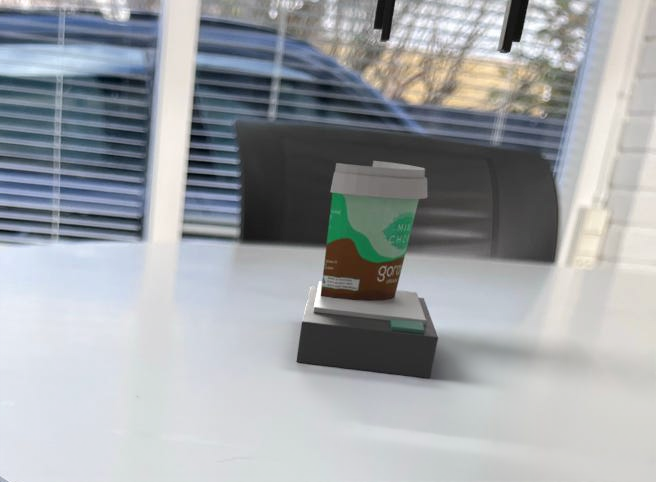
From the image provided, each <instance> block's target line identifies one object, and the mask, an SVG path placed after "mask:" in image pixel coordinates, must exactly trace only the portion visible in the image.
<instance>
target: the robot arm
mask: <svg viewBox="0 0 656 482" xmlns="http://www.w3.org/2000/svg"><path fill="white" fill-rule="evenodd" d="M396 1H397V0H377V1H376V7H375V13H374V21H373V28H372V30H378V31H380V37H379V38H380V39H379V43H387V42H389V41H390V39H391V33H392V26H393V20H394V13H395V7H396ZM529 3H530V0H506V5H505V10H504V15H503V20H502V26H501V30H500V36H499V42H498V46H497V51H498V52H499V54H508V53H511V50H512V47H513V43H520V42H521V40H522V36H523V32H524V27H525V21H526V18H527V17H526V16H527V12H528V8H529Z"/></svg>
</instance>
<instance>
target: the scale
mask: <svg viewBox="0 0 656 482" xmlns="http://www.w3.org/2000/svg"><path fill="white" fill-rule="evenodd" d="M321 288H322V281H319V282H318V285H313V284H311V285H310V287H309V291H308V295H307V300H306V304H305V308H304V311H303V315H302V320H301V325H300V332H299V340H298V347H297V353H296V354H297V355H296V363H301V364H308V365H309V364H311V365H319V366H327V367H334V368H342V369H352V370H357V371H359V370H360V371H367V372H376V373H385V374H392V375H399V376H410V377H417V378H425V379H430V378H431V376H432V372H433V371H432V370H433V365H434V360H435V356H436V351H437V346H438V340H439V337H438V333H437V331H436V328H435V325H434V322H433V320H432V317H431V314H430V311H429V309H428V306H427V304H426V300H425V298H424V297H419V295H418V293H417V292H416V291H407V290H399V289H397V290H396V294H395V297H394V298H393V299H390V300H381V301H364V300H348V299H338V298H330V297H323V296H321Z"/></svg>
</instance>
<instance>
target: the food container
mask: <svg viewBox="0 0 656 482" xmlns="http://www.w3.org/2000/svg"><path fill="white" fill-rule="evenodd" d="M425 175H426V168H425V167H420V166H415V165H410V164H404V163H395V162H388V161H379V160H373V161H372V165H371V166H369V165H360V164H359V165H357V164H349V163H348V164H347V163H340V162H336V163H335V170H334V172H333V176H332V181H331V186H330V190H329V192H330V193H331V194H332V195H331V203H330V212H329V219H328V229H327V237H326V247H325V254H324V261H323V262H324V263H323V270H322V271H323V272H322V280H321V282H322V288H321V296H323V297H330V298H338V299H348V300H364V301H381V300H390V299H393V298H394V297H395V294H396V290H398V285H399V281H400V277H401V273H402V270H403V265H404V260H405V257H406V253H407V250H408V246H409V244H408V243H409V241H410V237H411V233H412V229H413V226H414V220H415V216H416V212H417V208H418V204H419V201H420V200H421V199H422V200H423V199H427V198H428V177H426V176H425Z"/></svg>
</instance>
